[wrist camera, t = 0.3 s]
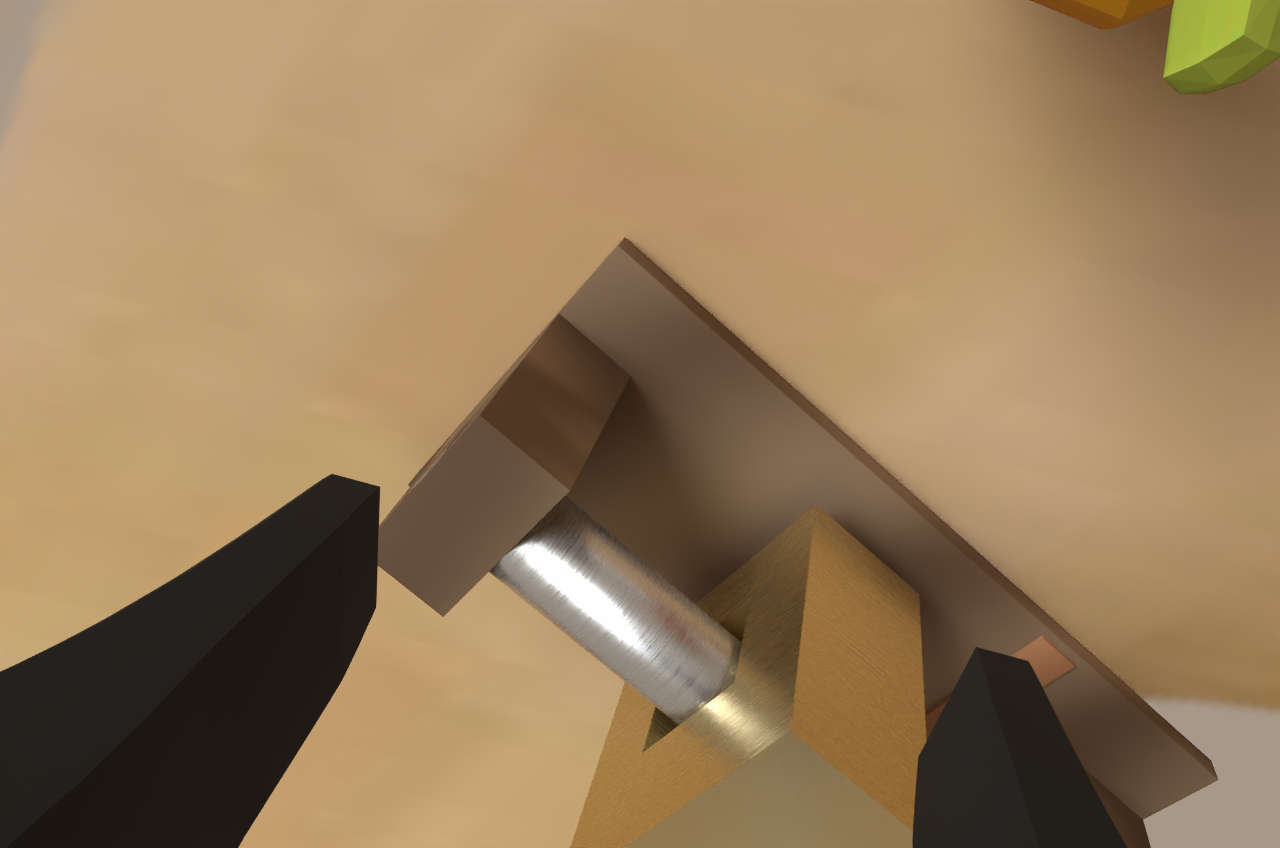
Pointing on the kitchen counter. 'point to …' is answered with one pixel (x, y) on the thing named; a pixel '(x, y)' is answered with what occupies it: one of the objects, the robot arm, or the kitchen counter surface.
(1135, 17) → the carrot
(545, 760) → the kitchen counter surface
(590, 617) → the pipe
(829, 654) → the brushed brass square block
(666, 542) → the slider rail
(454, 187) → the kitchen counter surface
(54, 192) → the kitchen counter surface
